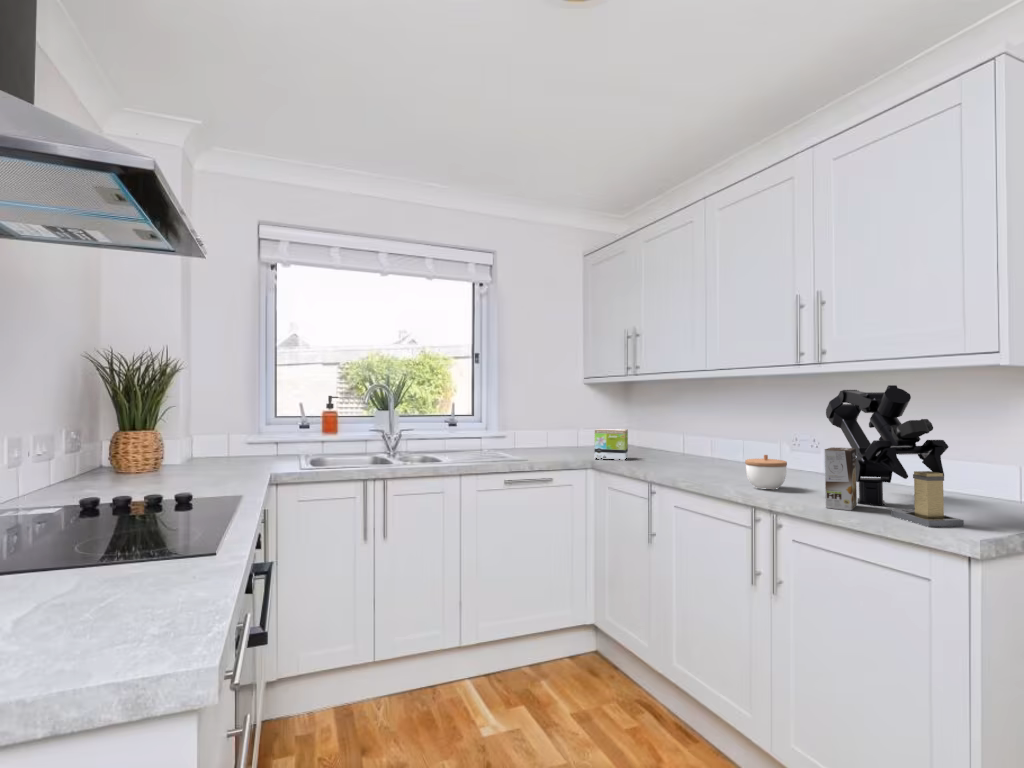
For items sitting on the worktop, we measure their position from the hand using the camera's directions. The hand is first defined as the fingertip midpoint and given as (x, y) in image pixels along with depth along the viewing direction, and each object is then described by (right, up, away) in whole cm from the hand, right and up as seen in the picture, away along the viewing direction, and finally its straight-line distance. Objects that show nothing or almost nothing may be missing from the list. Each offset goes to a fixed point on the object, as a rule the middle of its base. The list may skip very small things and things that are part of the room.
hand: (924, 477), depth 136 cm
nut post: (0, -11, -1) cm, 11 cm away
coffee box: (-10, -11, +17) cm, 23 cm away
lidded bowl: (-17, -12, +48) cm, 53 cm away
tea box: (-53, -14, +134) cm, 145 cm away
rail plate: (0, -11, -1) cm, 11 cm away
